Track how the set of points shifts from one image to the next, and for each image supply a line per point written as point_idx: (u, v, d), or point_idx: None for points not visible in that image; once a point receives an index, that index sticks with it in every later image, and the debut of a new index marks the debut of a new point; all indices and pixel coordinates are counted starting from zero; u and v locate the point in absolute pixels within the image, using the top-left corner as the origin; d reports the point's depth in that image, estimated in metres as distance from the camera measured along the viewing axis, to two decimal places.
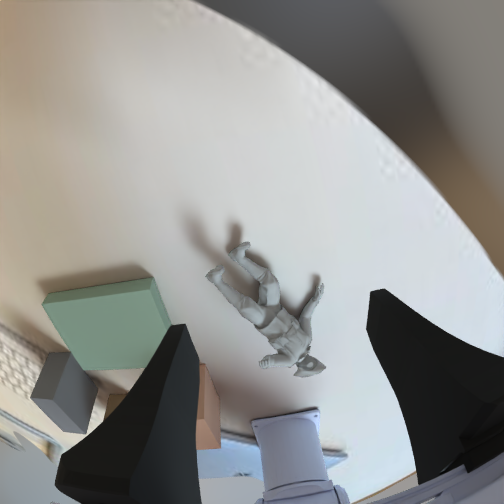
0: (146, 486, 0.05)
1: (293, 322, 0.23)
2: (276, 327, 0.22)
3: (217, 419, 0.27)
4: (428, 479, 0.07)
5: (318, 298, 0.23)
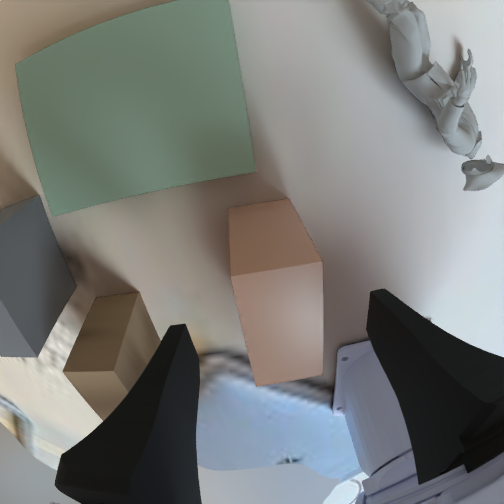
0: (146, 486, 0.05)
1: (456, 82, 0.11)
2: (442, 74, 0.10)
3: None
4: (428, 479, 0.07)
5: (469, 65, 0.11)
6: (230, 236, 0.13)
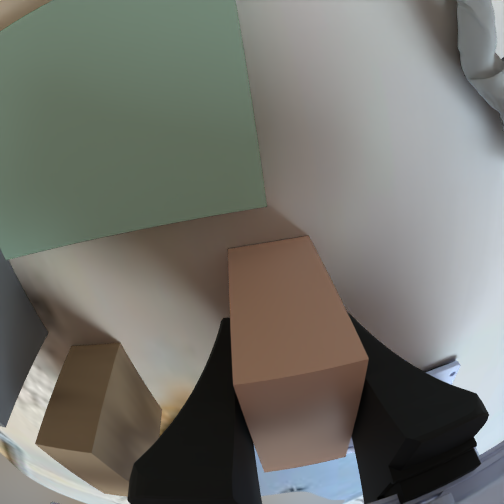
0: (238, 485, 0.05)
1: None
2: None
3: None
4: (370, 501, 0.07)
5: None
6: (231, 303, 0.09)
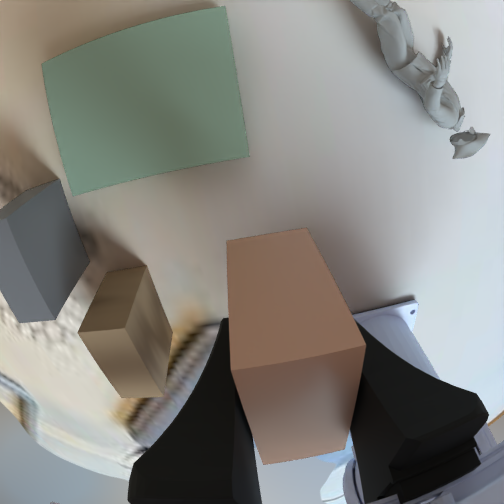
0: (239, 485, 0.05)
1: (438, 67, 0.13)
2: (424, 62, 0.12)
3: None
4: (370, 501, 0.07)
5: (449, 51, 0.13)
6: (229, 291, 0.09)
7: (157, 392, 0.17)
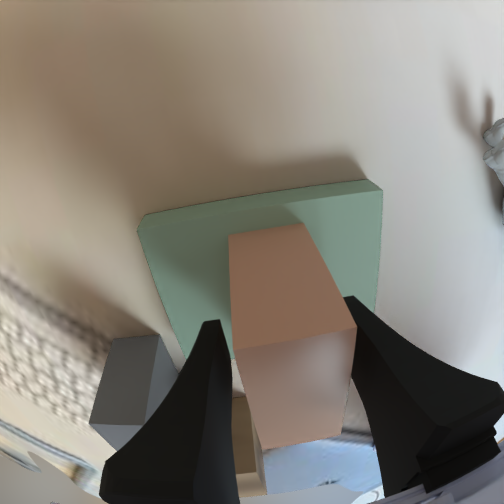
0: (204, 487, 0.05)
1: None
2: None
3: None
4: (392, 493, 0.07)
5: None
6: (231, 280, 0.10)
7: (263, 493, 0.18)
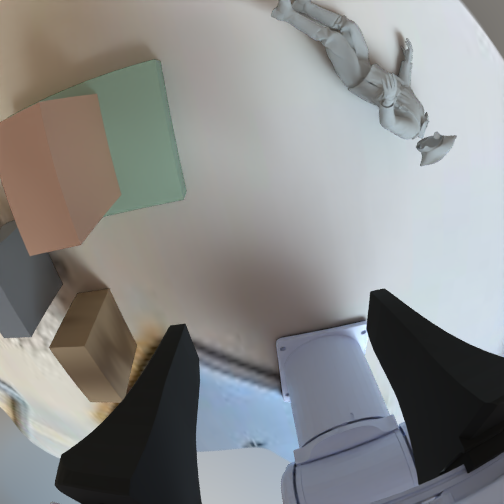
0: (146, 486, 0.05)
1: (395, 76, 0.14)
2: (379, 75, 0.13)
3: (95, 195, 0.13)
4: (428, 479, 0.07)
5: (409, 54, 0.14)
6: None
7: (118, 398, 0.19)
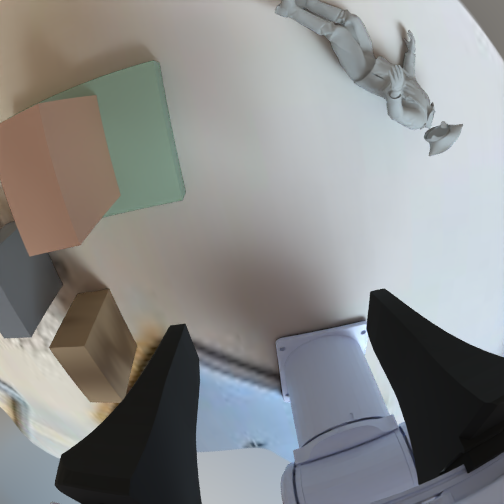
0: (146, 486, 0.05)
1: None
2: (384, 68, 0.13)
3: (94, 196, 0.13)
4: (428, 479, 0.07)
5: (412, 45, 0.14)
6: None
7: (118, 398, 0.19)
